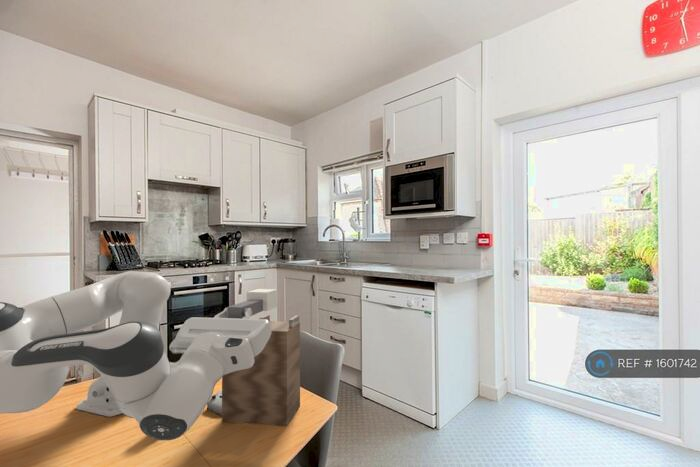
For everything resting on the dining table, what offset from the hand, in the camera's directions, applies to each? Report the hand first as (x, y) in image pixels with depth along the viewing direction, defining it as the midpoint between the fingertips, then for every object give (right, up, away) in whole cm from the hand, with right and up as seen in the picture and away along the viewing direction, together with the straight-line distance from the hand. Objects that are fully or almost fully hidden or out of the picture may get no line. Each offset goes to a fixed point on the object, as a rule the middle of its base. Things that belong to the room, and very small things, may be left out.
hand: (239, 309), depth 80 cm
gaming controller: (-10, -32, +16) cm, 37 cm away
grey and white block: (+1, -2, +7) cm, 7 cm away
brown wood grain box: (+3, -31, +11) cm, 33 cm away
